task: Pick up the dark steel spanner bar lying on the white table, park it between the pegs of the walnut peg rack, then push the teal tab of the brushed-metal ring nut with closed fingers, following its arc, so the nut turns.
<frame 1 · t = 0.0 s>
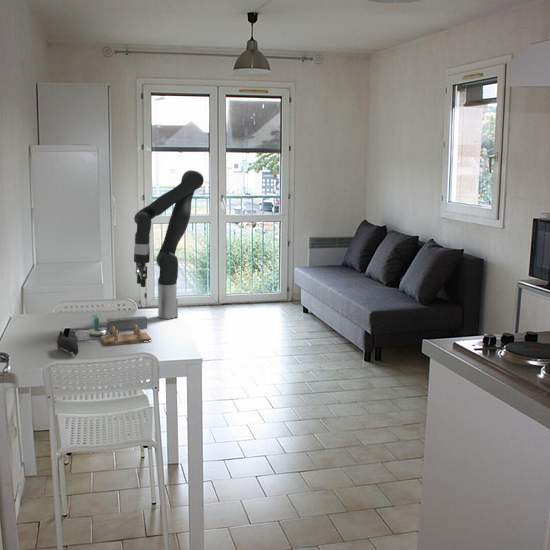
hand: (141, 285, 348), 17 cm above the table, fingers open, 8 cm apart
nut flange: (92, 334, 322), on the table
spanner bar: (130, 328, 334), on the table
figurine: (68, 353, 294), on the table
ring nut: (96, 325, 324), point 4 cm above the table, hinge at 0.0°
peg rack: (126, 340, 314), on the table
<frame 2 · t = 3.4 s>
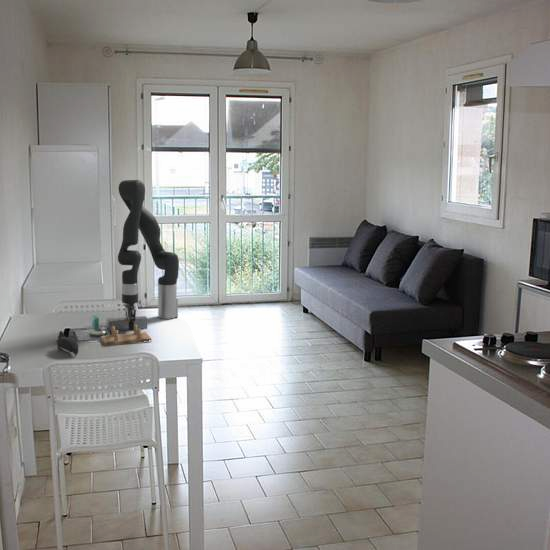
hand: (130, 327, 334), 0 cm above the table, fingers closed on spanner bar, 4 cm apart
spanner bar: (130, 328, 334), on the table, touching gripper
everything else where it was.
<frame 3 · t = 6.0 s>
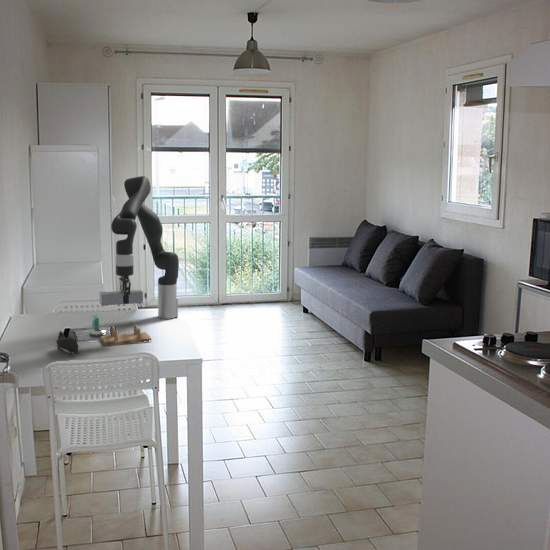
hand: (125, 302, 311), 17 cm above the table, fingers closed on spanner bar, 4 cm apart
spanner bar: (124, 303, 311), point 17 cm above the table, touching gripper
everything else where it was.
when the fingers open (3 cm above the table, at t = 9.0 s): spanner bar drops 1 cm, resting on peg rack.
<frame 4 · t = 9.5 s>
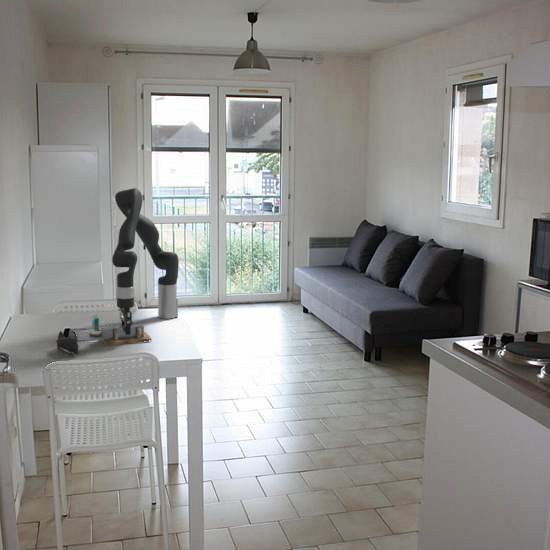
hand: (125, 332, 313), 4 cm above the table, fingers open, 8 cm apart
spanner bar: (126, 337, 314), point 1 cm above the table, touching peg rack
everything else where it was.
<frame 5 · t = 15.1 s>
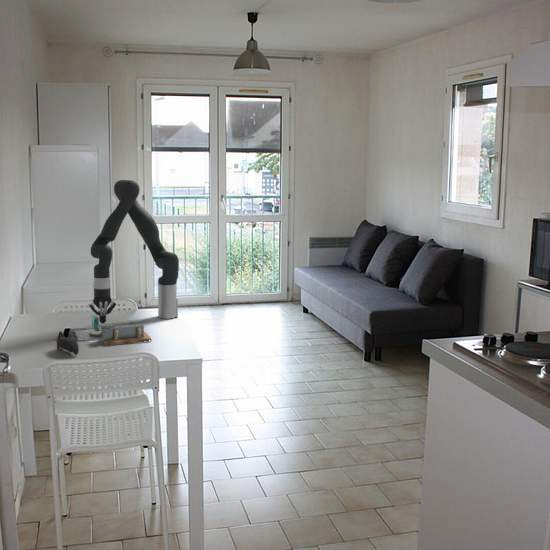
hand: (102, 323, 330), 3 cm above the table, fingers closed
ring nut: (96, 325, 324), point 4 cm above the table, hinge at 0.7°, touching gripper
everything else where it was.
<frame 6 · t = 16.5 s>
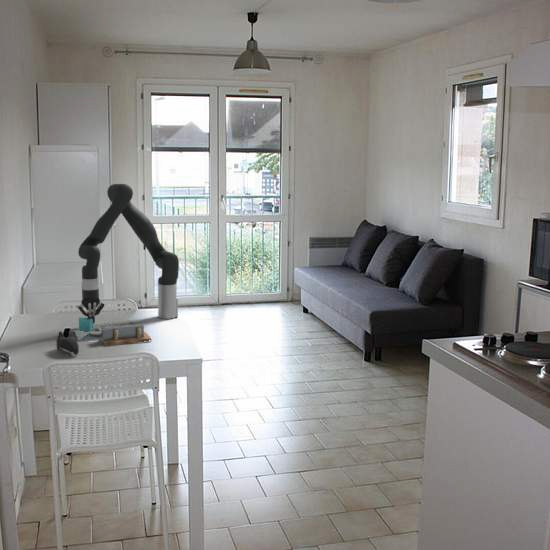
hand: (91, 324, 328), 3 cm above the table, fingers closed
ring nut: (92, 325, 323), point 4 cm above the table, hinge at 40.8°, touching gripper
everything else where it was.
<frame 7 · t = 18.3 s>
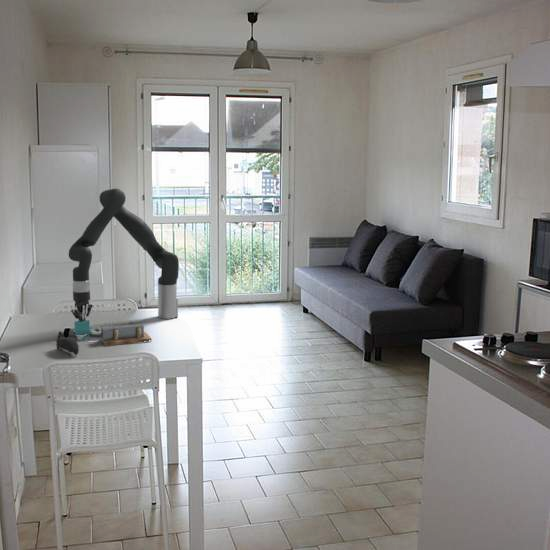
hand: (82, 326, 323), 3 cm above the table, fingers closed
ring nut: (90, 327, 320), point 4 cm above the table, hinge at 83.6°, touching gripper
everything else where it was.
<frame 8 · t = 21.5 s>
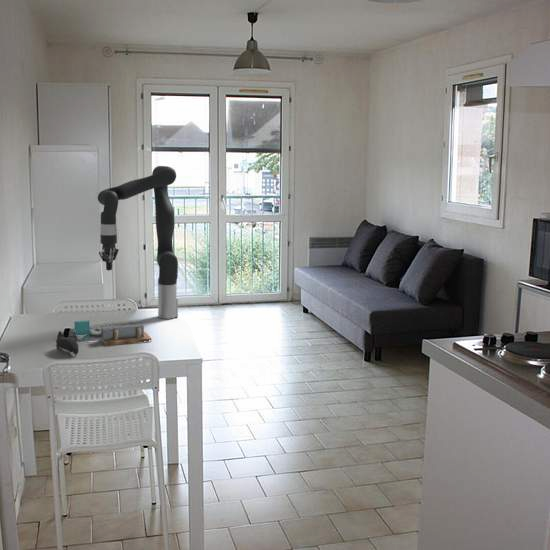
hand: (109, 270, 333), 27 cm above the table, fingers closed
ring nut: (90, 327, 320), point 4 cm above the table, hinge at 83.8°
everything else where it was.
at the end: spanner bar inside the target area on the peg rack (0.1 cm from its centre), point 1.5 cm above the peg rack's base; the gripper is holding nothing; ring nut at +84° (first picture: +0°) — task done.
